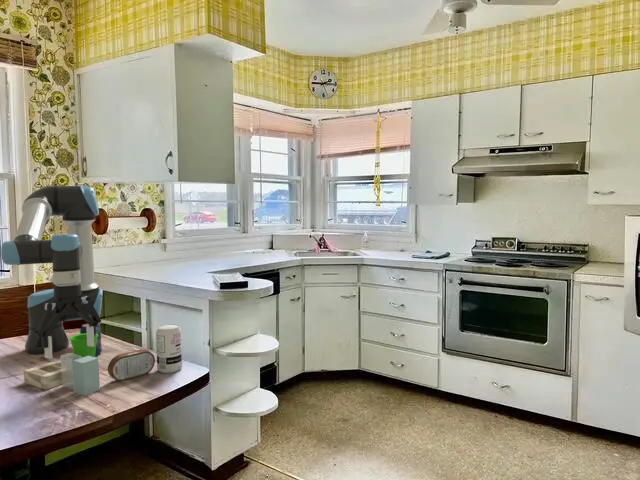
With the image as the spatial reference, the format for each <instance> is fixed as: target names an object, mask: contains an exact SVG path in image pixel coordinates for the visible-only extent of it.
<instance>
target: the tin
mask: <svg viewBox="0 0 640 480" xmlns="http://www.w3.org/2000/svg"><path fill="white" fill-rule="evenodd" d="M155 364H156V358H155V355H154V354H153V353H152V352H151V351H150V350H148V349H146V348H145V349H143V348H142V349H141V348H140V349H138V350H134V351H133V350H132V351H128V352H124V353H119V354H117V355H115V356H114V357H112V359H111V360H110V361H109V363H108V366H107V373H108V375H109V377H110V378H112V379H114V380H115V381H119V382H120V381H121V382H123V381H126V380H130V379H133V378H137V377H141V376H145V375H148V374H149V373H150V372H151V371H152V370H153V368H154V366H155Z"/></svg>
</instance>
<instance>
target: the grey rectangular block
mask: <svg viewBox="0 0 640 480" xmlns="http://www.w3.org/2000/svg"><path fill="white" fill-rule="evenodd" d="M79 358H81V355H77V354H74V352H73V353H72V352H68V353H64V354H61V355H60V363H61V373H62V384H61V387H62V388H66V389H68V388H69V389H68V390H72V391H74V372H73V360H76V359H79Z"/></svg>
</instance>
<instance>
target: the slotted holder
mask: <svg viewBox="0 0 640 480" xmlns="http://www.w3.org/2000/svg"><path fill="white" fill-rule="evenodd" d="M23 378H24V381H23V382H24V383H25V384H28V385H31V386H33V387H37V388H39V389H43V390H49V389H51V388H54V387H57V386H60V385H61V386H62V373H61V362H59V361H56V360H55V361H51V362H47V363H44V364H41V365H38V366H35V367H32V368H27V369H24V370H23Z"/></svg>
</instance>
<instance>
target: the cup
mask: <svg viewBox="0 0 640 480" xmlns="http://www.w3.org/2000/svg"><path fill="white" fill-rule="evenodd" d="M98 336H99V335H98V334H96V335H94V347H91V346H87V333H84V334H80V333H79V334H74V335H72V336H70V337H69V340H70V342H71V345H72V346H71V347H72V350H73V354H77V355H81V358H82V357H86V356H91V357H95V352H96V344H97V337H98ZM95 358H96V357H95Z"/></svg>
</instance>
